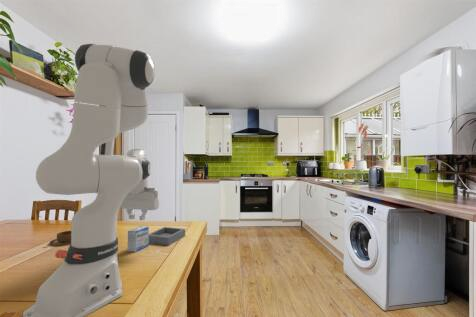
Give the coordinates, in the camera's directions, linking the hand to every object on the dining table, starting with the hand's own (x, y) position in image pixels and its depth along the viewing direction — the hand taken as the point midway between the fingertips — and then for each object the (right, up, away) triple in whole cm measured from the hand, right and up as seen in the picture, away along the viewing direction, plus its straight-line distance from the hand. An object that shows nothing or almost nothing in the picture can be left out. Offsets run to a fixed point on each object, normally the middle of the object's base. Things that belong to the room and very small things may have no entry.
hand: (136, 219), depth 102 cm
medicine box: (+1, -13, 0) cm, 13 cm away
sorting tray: (+9, -13, +12) cm, 20 cm away
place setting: (-33, -13, +5) cm, 36 cm away
